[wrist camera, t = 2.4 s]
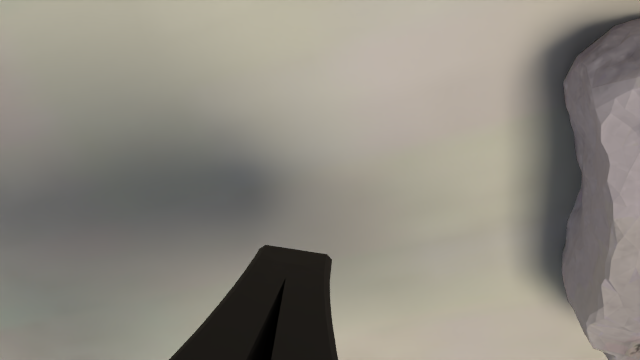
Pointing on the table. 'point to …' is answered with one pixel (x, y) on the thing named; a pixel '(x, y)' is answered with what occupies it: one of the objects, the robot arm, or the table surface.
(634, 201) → the stone block
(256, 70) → the table surface
